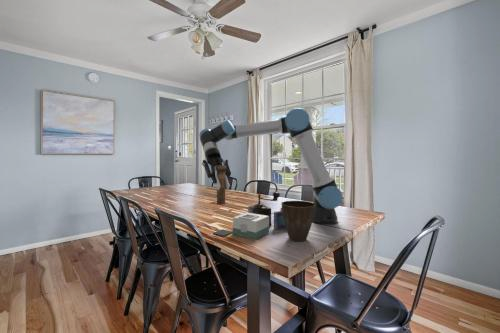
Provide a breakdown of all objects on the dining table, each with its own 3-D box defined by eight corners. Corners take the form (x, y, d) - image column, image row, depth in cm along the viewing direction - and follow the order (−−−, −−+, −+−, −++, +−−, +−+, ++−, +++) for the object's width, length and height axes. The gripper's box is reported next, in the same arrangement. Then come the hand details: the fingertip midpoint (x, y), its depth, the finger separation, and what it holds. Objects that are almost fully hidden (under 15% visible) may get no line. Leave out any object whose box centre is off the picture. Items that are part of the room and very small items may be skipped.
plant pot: (291, 231, 121) (291, 199, 120) (320, 237, 111) (320, 203, 110) (274, 239, 109) (274, 204, 108) (305, 247, 100) (305, 208, 99)
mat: (233, 232, 119) (233, 231, 119) (223, 236, 113) (223, 235, 113) (222, 230, 123) (222, 229, 123) (212, 234, 117) (212, 232, 117)
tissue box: (269, 232, 120) (269, 214, 119) (255, 239, 109) (255, 220, 109) (247, 227, 127) (247, 211, 126) (232, 234, 116) (232, 216, 116)
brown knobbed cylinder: (228, 203, 118) (228, 165, 117) (221, 205, 114) (221, 165, 113) (220, 202, 121) (220, 165, 120) (213, 204, 117) (213, 165, 116)
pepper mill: (253, 228, 126) (253, 193, 126) (247, 222, 137) (247, 190, 136) (281, 225, 131) (281, 192, 130) (273, 220, 142) (273, 189, 141)
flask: (274, 230, 123) (274, 209, 122) (272, 228, 126) (272, 207, 125) (291, 228, 126) (291, 207, 125) (288, 226, 129) (288, 206, 128)
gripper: (225, 157, 134) (238, 191, 120) (194, 157, 126) (204, 194, 112) (228, 147, 129) (242, 181, 115) (197, 146, 121) (208, 183, 107)
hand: (223, 187), depth 114 cm, fingers closed on brown knobbed cylinder, 4 cm apart
